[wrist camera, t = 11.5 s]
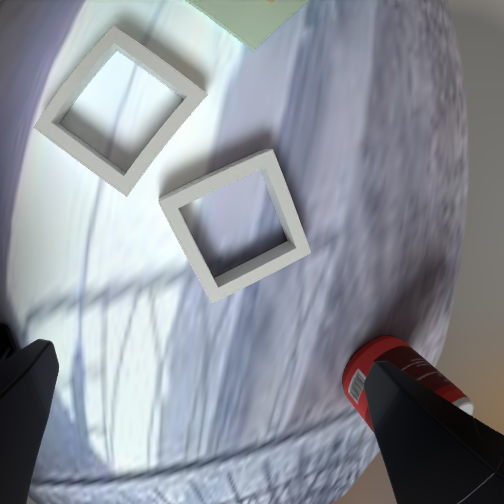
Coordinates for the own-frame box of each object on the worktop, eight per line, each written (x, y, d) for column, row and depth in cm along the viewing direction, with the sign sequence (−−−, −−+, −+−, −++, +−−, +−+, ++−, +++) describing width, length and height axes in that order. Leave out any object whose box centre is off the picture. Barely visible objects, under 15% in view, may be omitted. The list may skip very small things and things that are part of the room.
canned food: (352, 407, 30) (407, 480, 20) (327, 368, 26) (396, 456, 16) (408, 364, 30) (472, 425, 20) (394, 317, 27) (477, 385, 17)
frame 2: (208, 293, 21) (212, 303, 20) (158, 198, 18) (158, 202, 17) (301, 245, 22) (311, 252, 20) (264, 148, 19) (272, 149, 17)
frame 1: (129, 192, 17) (126, 196, 16) (42, 128, 15) (33, 127, 13) (204, 98, 17) (208, 94, 16) (116, 34, 14) (113, 25, 13)
